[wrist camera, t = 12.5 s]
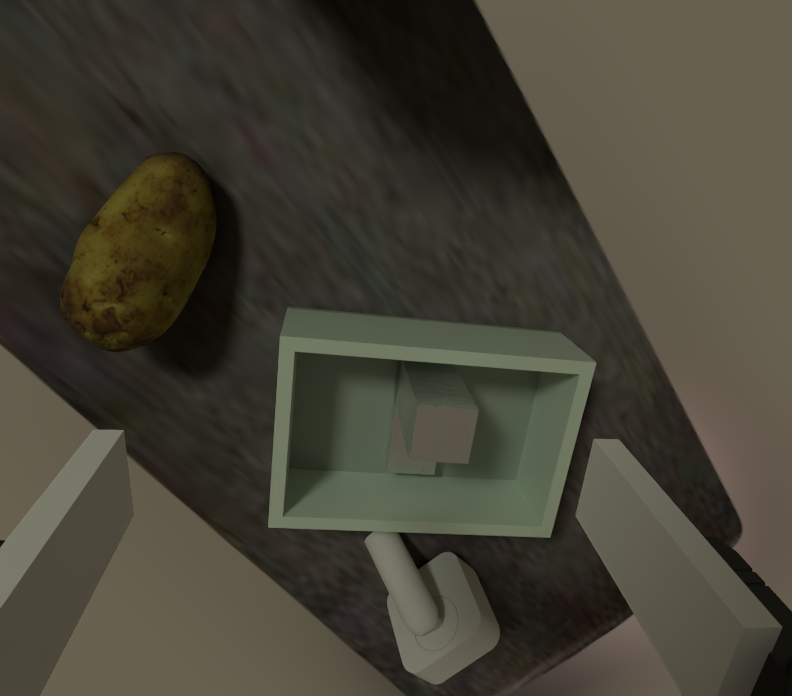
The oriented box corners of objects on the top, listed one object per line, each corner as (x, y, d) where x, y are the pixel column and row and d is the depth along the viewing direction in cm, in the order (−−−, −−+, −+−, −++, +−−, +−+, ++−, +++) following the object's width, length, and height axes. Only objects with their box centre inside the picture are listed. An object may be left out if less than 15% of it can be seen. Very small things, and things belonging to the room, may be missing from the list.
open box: (287, 306, 43) (280, 335, 37) (558, 331, 46) (596, 362, 40) (276, 474, 48) (268, 527, 42) (522, 487, 51) (550, 537, 45)
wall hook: (404, 496, 50) (440, 594, 41) (464, 545, 55) (506, 640, 47) (334, 547, 51) (355, 653, 42) (399, 590, 56) (429, 691, 48)
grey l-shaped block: (399, 350, 45) (417, 405, 35) (448, 354, 45) (478, 409, 36) (384, 459, 48) (397, 536, 39) (430, 462, 49) (453, 538, 39)
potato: (269, 225, 41) (255, 245, 33) (151, 342, 43) (113, 385, 36) (178, 135, 38) (141, 134, 31) (57, 264, 40) (-5, 292, 33)
